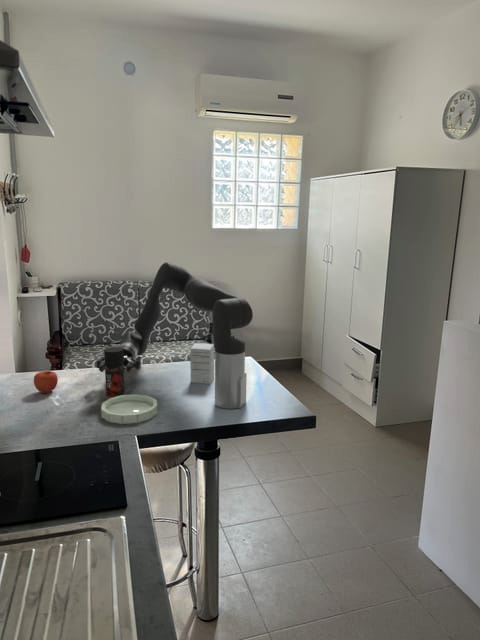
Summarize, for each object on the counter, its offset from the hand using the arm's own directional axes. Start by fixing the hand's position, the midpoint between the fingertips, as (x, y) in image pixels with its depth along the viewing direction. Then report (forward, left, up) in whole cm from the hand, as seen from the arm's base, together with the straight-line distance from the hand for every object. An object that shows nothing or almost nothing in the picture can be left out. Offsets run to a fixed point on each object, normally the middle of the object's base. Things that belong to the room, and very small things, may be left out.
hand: (114, 369), depth 157 cm
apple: (+22, +6, -9) cm, 25 cm away
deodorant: (0, 0, -9) cm, 9 cm away
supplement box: (-22, -22, -9) cm, 32 cm away
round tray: (-12, +12, -9) cm, 19 cm away
